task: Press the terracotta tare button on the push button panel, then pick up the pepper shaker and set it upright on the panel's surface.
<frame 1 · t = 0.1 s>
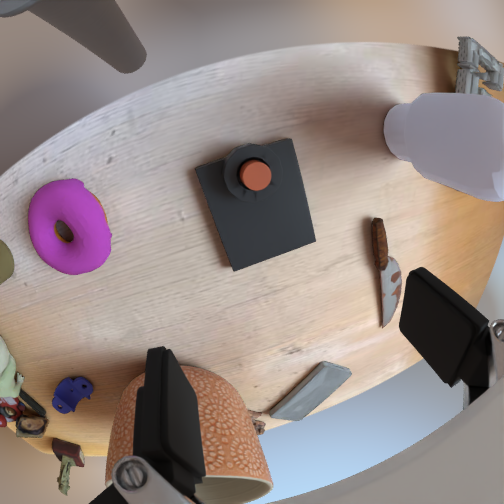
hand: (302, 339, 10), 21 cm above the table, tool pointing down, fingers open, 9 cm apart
planter: (181, 388, 39), on the table
tare button: (255, 174, 25), point 3 cm above the table, slide at 0.1 cm
bracket: (71, 397, 33), point 3 cm above the table
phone: (311, 398, 45), point 2 cm above the table
donut: (75, 220, 26), on the table
small statue on base: (69, 446, 45), on the table
kitchen knife: (387, 274, 38), on the table
folding knife: (32, 399, 35), point 1 cm above the table
push button panel: (258, 204, 29), on the table
architectural model: (486, 121, 25), point 4 cm above the table
soap bottle: (402, 131, 29), on the table
tree bark: (250, 408, 47), on the table
figurine: (2, 354, 30), on the table
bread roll: (46, 428, 40), point 1 cm above the table, touching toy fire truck
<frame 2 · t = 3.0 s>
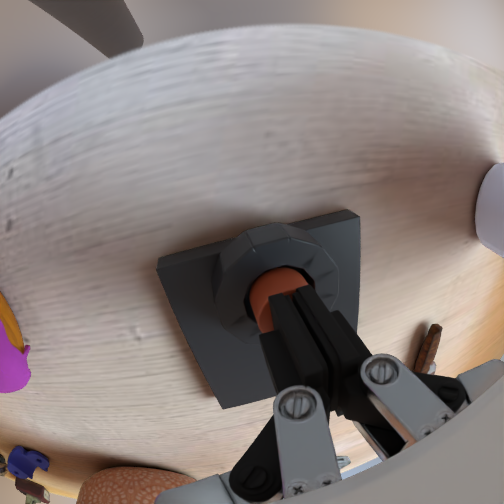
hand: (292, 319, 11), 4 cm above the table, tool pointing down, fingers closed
planter: (150, 478, 25), on the table
tare button: (283, 303, 11), point 3 cm above the table, slide at 0.0 cm, touching gripper
bracket: (27, 468, 18), point 3 cm above the table
small statue on base: (33, 483, 29), on the table
kitchen knife: (420, 375, 25), on the table
push button panel: (275, 323, 16), on the table
soap bottle: (491, 202, 16), on the table
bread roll: (7, 468, 23), point 1 cm above the table, touching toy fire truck
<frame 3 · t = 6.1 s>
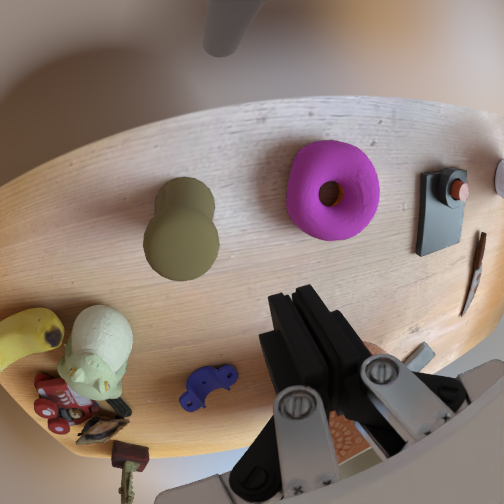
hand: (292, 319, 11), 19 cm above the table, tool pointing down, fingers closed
planter: (326, 368, 42), on the table
tare button: (459, 190, 28), point 3 cm above the table, slide at 0.1 cm
bracket: (210, 390, 34), point 3 cm above the table
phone: (406, 376, 48), point 2 cm above the table
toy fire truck: (41, 406, 29), point 5 cm above the table, touching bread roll
donut: (324, 186, 29), on the table
small statue on base: (129, 449, 45), on the table
kitchen knife: (474, 274, 43), on the table
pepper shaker: (184, 206, 27), on the table
folding knife: (120, 398, 36), point 1 cm above the table
push button panel: (441, 210, 33), on the table
soap bottle: (501, 177, 34), on the table
figurine: (100, 341, 31), on the table
banana: (23, 322, 28), on the table
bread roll: (114, 430, 40), point 1 cm above the table, touching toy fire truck
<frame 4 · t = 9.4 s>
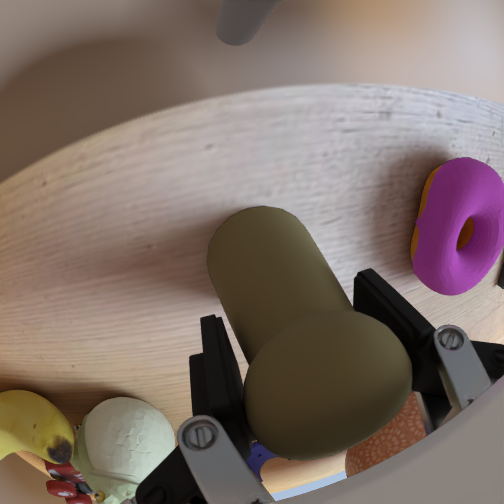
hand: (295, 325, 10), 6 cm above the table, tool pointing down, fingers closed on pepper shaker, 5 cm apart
planter: (391, 414, 31), on the table
bracket: (270, 466, 24), point 3 cm above the table
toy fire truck: (54, 480, 19), point 5 cm above the table, touching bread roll
donut: (443, 218, 18), on the table
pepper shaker: (260, 257, 16), on the table, touching gripper
figurine: (123, 426, 21), on the table, touching folding knife
banana: (16, 398, 17), on the table
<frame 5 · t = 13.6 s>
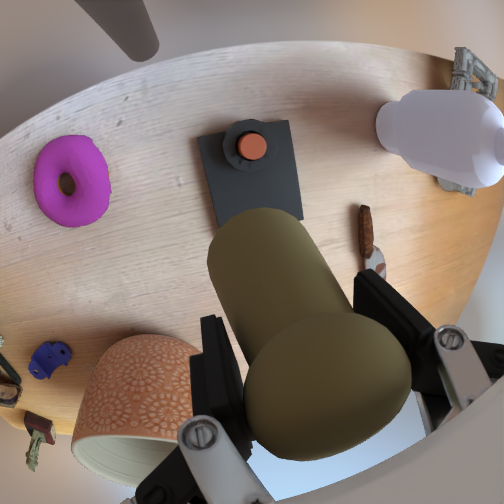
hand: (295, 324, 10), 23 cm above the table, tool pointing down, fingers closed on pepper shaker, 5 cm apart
planter: (159, 362, 40), on the table
tare button: (251, 146, 26), point 3 cm above the table, slide at 0.1 cm
bracket: (48, 363, 32), point 3 cm above the table
donut: (78, 177, 27), on the table
small statue on base: (41, 421, 43), on the table
kitchen knife: (372, 264, 40), on the table
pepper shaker: (260, 258, 16), point 17 cm above the table, touching gripper
folding knife: (9, 365, 34), point 1 cm above the table
push button panel: (252, 178, 31), on the table
architectural model: (476, 127, 28), point 4 cm above the table
soap bottle: (393, 127, 31), on the table
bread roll: (19, 398, 38), point 1 cm above the table, touching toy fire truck
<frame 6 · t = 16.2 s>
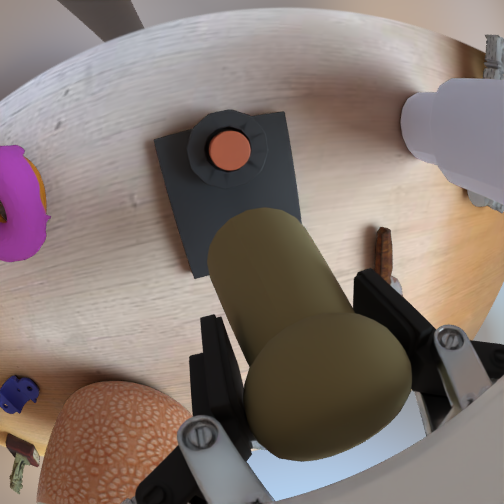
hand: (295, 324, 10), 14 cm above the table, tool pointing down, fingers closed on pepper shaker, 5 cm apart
planter: (133, 405, 31), on the table
tare button: (228, 149, 17), point 3 cm above the table, slide at 0.1 cm
bracket: (16, 398, 24), point 3 cm above the table
donut: (17, 197, 18), on the table
small statue on base: (24, 444, 35), on the table
kitchen knife: (387, 297, 31), on the table
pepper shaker: (260, 258, 16), point 8 cm above the table, touching gripper
push button panel: (233, 194, 22), on the table
soap bottle: (421, 126, 23), on the table
when the fingers open (9 cm above the table, at t = 18.1 s): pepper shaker drops 2 cm, resting on push button panel.
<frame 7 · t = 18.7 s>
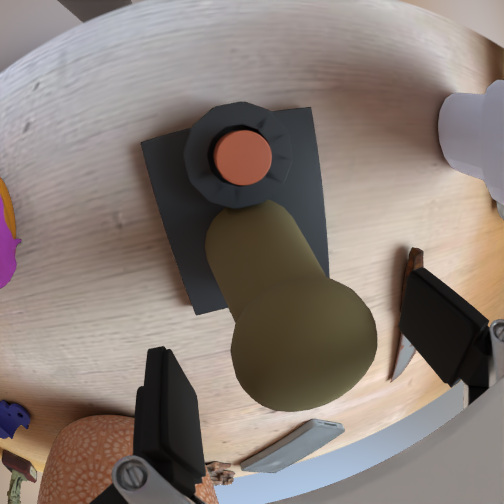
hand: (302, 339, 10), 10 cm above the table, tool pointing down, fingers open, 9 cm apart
planter: (130, 436, 26), on the table
tare button: (241, 156, 13), point 3 cm above the table, slide at 0.1 cm
bracket: (7, 424, 19), point 3 cm above the table
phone: (292, 454, 33), point 2 cm above the table
small statue on base: (21, 459, 30), on the table
kitchen knife: (410, 321, 27), on the table
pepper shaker: (252, 243, 18), point 1 cm above the table, touching push button panel
push button panel: (244, 212, 18), on the table
soap bottle: (456, 131, 18), on the table
tree bark: (217, 458, 34), on the table
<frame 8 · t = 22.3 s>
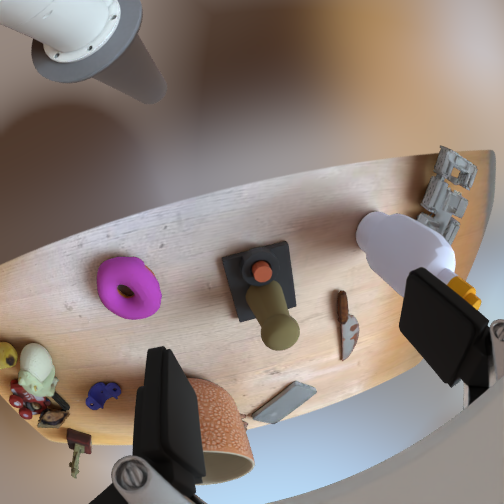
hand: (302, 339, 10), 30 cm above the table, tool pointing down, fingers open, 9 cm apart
planter: (189, 393, 53), on the table
tare button: (261, 271, 39), point 3 cm above the table, slide at 0.1 cm
bracket: (103, 398, 46), point 3 cm above the table
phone: (284, 407, 59), point 2 cm above the table
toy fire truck: (15, 400, 41), point 5 cm above the table, touching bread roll
donut: (131, 280, 40), on the table
small statue on base: (80, 436, 57), on the table
kitchen knife: (348, 325, 53), on the table
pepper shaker: (263, 294, 44), point 1 cm above the table, touching push button panel
folding knife: (60, 397, 47), point 1 cm above the table
push button panel: (261, 282, 44), on the table
architectural model: (446, 218, 42), point 4 cm above the table
soap bottle: (371, 230, 45), on the table
tree bark: (237, 411, 61), on the table
figurine: (41, 361, 43), on the table
banana: (0, 348, 39), on the table
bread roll: (63, 419, 51), point 1 cm above the table, touching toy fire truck
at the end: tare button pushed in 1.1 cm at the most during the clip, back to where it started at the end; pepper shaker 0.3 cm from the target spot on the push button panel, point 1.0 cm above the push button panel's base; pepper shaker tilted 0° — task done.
